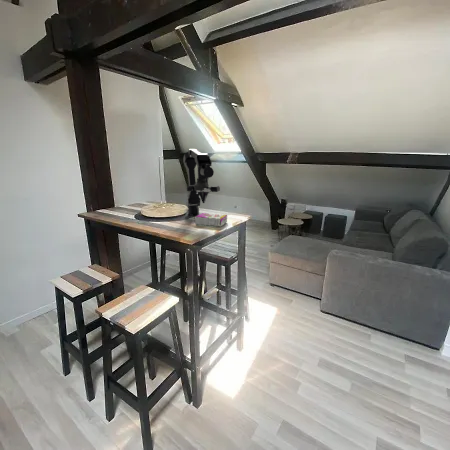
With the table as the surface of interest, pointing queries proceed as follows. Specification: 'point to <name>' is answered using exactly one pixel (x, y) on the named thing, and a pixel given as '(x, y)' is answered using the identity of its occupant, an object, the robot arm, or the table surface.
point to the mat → (206, 225)
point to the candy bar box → (211, 219)
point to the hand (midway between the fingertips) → (203, 203)
